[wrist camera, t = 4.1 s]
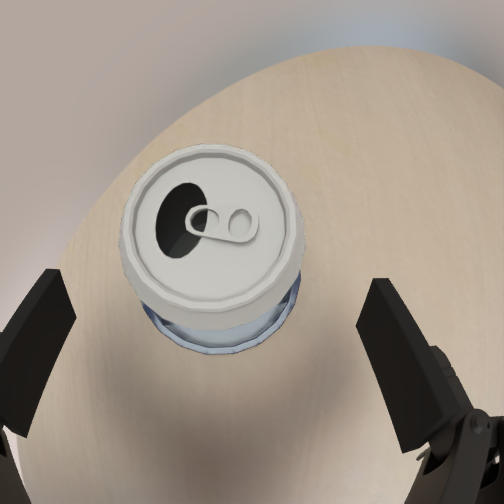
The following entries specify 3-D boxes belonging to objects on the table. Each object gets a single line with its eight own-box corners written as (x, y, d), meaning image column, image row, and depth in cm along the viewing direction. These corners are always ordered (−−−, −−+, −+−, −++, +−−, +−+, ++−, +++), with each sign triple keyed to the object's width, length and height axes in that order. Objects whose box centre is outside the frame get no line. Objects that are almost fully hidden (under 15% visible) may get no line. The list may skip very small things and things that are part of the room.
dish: (146, 350, 20) (137, 353, 18) (148, 208, 23) (140, 195, 20) (296, 346, 21) (305, 349, 19) (286, 204, 24) (293, 191, 21)
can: (178, 217, 22) (138, 118, 11) (276, 233, 22) (324, 145, 11) (158, 316, 20) (81, 305, 9) (261, 334, 21) (304, 348, 9)
